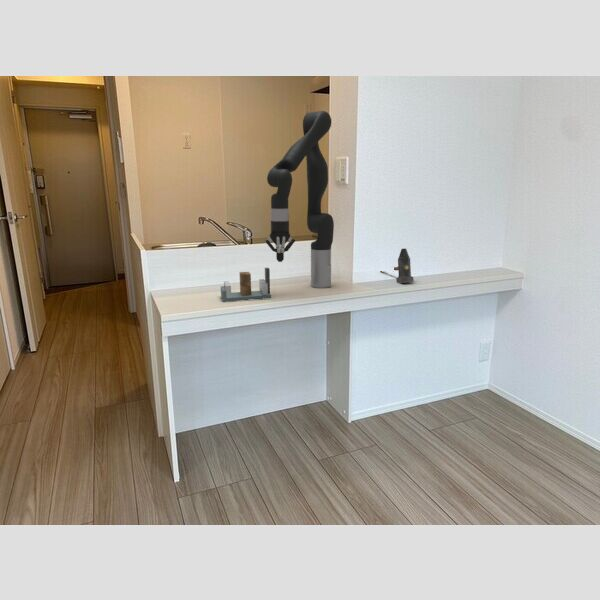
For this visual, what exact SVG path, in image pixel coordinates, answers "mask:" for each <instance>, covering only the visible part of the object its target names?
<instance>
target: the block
mask: <svg viewBox="0 0 600 600" xmlns="http://www.w3.org/2000/svg"><path fill="white" fill-rule="evenodd" d="M238 274H239V290H240V291H239V292H240V293H241V295H242V296H248V295H251V291H252V274H251V272H250V271H240V272H239V273H238Z"/></svg>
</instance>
